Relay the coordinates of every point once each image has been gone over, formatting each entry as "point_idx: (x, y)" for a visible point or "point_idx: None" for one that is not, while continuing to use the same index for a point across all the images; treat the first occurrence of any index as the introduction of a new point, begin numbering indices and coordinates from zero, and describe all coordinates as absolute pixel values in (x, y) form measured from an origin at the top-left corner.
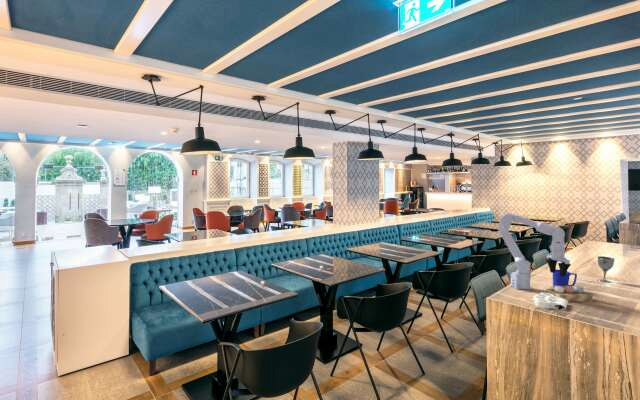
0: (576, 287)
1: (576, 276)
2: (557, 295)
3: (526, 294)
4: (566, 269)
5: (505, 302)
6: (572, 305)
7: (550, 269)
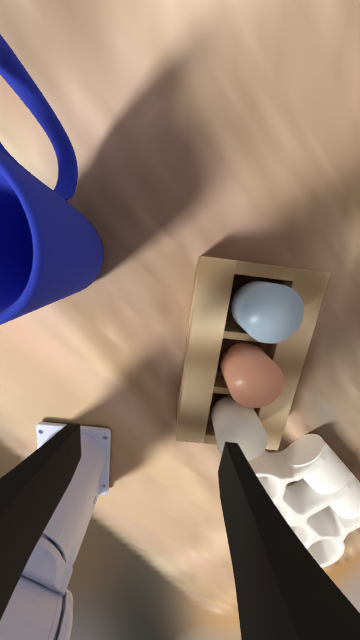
0: (275, 339)
1: (19, 65)
2: None
3: (177, 495)
4: (290, 548)
5: None
6: (325, 417)
7: (57, 501)
